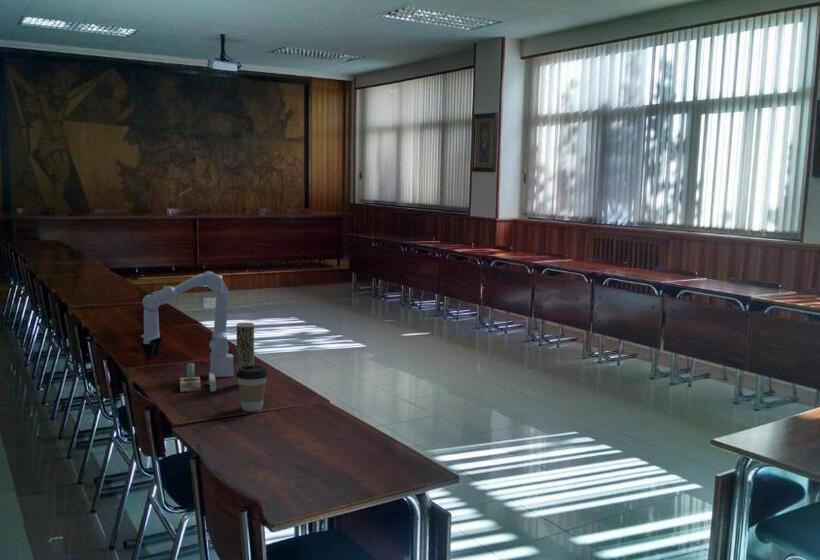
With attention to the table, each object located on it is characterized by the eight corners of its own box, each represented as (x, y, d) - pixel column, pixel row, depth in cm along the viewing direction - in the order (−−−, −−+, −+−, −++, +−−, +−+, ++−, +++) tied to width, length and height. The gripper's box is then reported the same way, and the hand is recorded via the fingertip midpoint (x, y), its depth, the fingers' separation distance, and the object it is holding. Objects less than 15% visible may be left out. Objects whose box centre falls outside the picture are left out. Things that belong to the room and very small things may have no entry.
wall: (214, 382, 302) (213, 373, 302) (216, 391, 291) (215, 381, 290) (208, 383, 302) (208, 373, 301) (210, 391, 290) (210, 381, 290)
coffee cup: (251, 402, 278) (251, 363, 276) (274, 407, 272) (274, 367, 270) (229, 409, 268) (229, 369, 266) (253, 415, 262) (252, 374, 260)
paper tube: (256, 383, 303) (256, 323, 300) (251, 387, 297) (250, 326, 293) (240, 382, 304) (239, 322, 301) (234, 386, 297) (234, 325, 294)
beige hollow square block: (199, 385, 298) (199, 376, 298) (200, 390, 291) (200, 381, 291) (180, 386, 296) (179, 378, 296) (180, 391, 289) (180, 383, 288)
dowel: (194, 381, 303) (194, 362, 302) (194, 383, 300) (194, 364, 299) (186, 382, 302) (186, 363, 301) (187, 384, 299) (186, 365, 298)
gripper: (147, 321, 307) (147, 353, 308) (135, 328, 292) (136, 361, 294) (164, 321, 307) (165, 353, 309) (153, 328, 292) (154, 362, 294)
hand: (152, 357), depth 301 cm, fingers open, 7 cm apart
